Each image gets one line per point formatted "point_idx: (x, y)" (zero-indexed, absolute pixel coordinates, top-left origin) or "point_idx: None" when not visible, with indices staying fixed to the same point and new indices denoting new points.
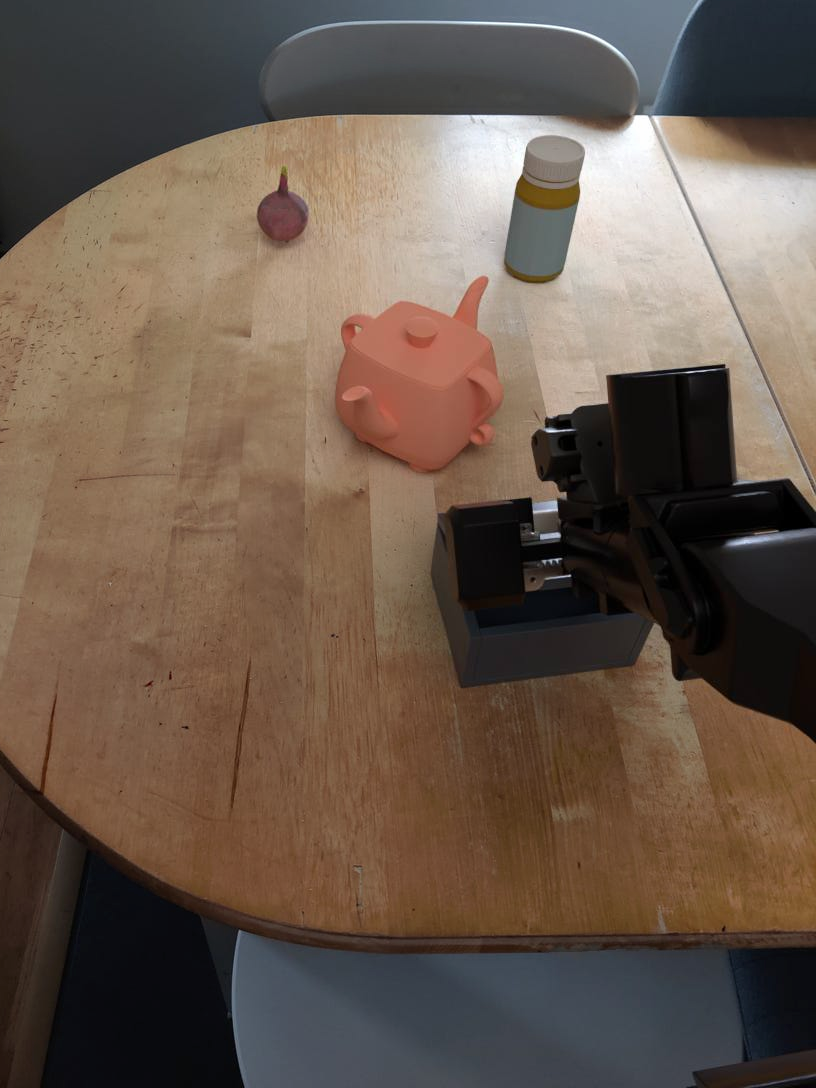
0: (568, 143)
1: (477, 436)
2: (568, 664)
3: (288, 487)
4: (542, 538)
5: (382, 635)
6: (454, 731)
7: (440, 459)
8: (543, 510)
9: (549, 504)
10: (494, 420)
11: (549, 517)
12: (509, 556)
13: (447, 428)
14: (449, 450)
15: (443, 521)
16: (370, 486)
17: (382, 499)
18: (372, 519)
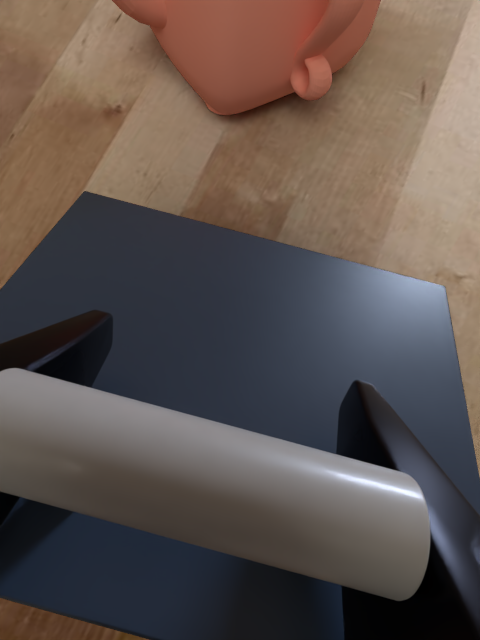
0: None
1: (303, 79)
2: None
3: (27, 66)
4: (206, 368)
5: None
6: None
7: (222, 96)
8: (61, 415)
9: (313, 262)
10: (360, 76)
11: (53, 476)
12: None
13: (234, 30)
14: (239, 84)
15: (65, 214)
16: (134, 107)
17: (138, 132)
18: (106, 156)
